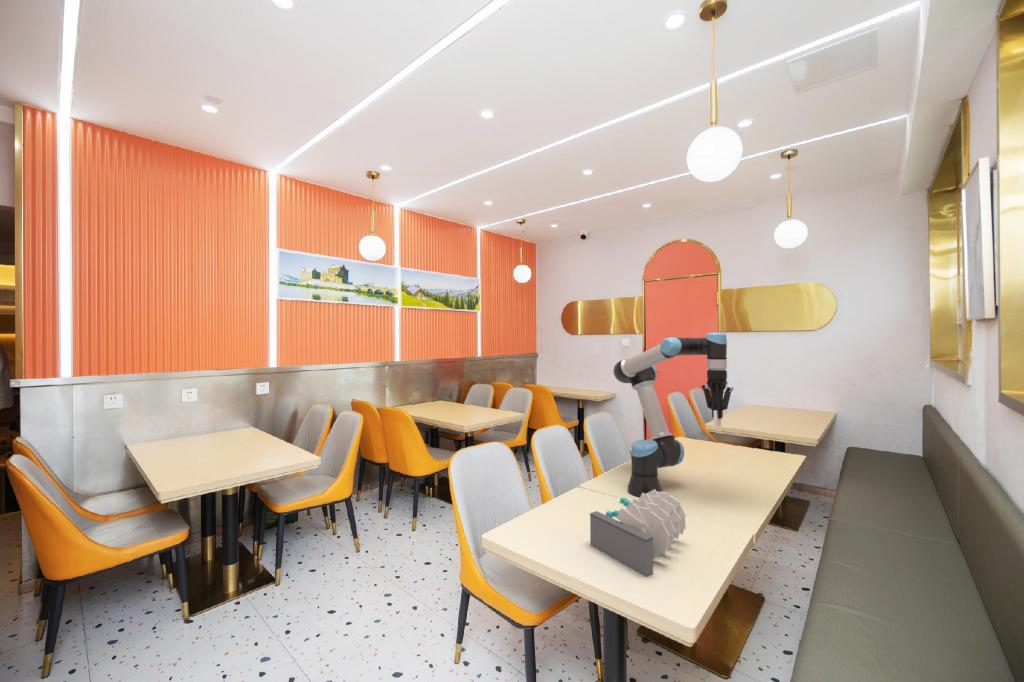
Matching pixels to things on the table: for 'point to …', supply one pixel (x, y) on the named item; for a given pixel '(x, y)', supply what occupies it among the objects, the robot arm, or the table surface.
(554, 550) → the table surface
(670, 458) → the robot arm
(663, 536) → the spiral staircase
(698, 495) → the table surface
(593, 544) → the slate board
